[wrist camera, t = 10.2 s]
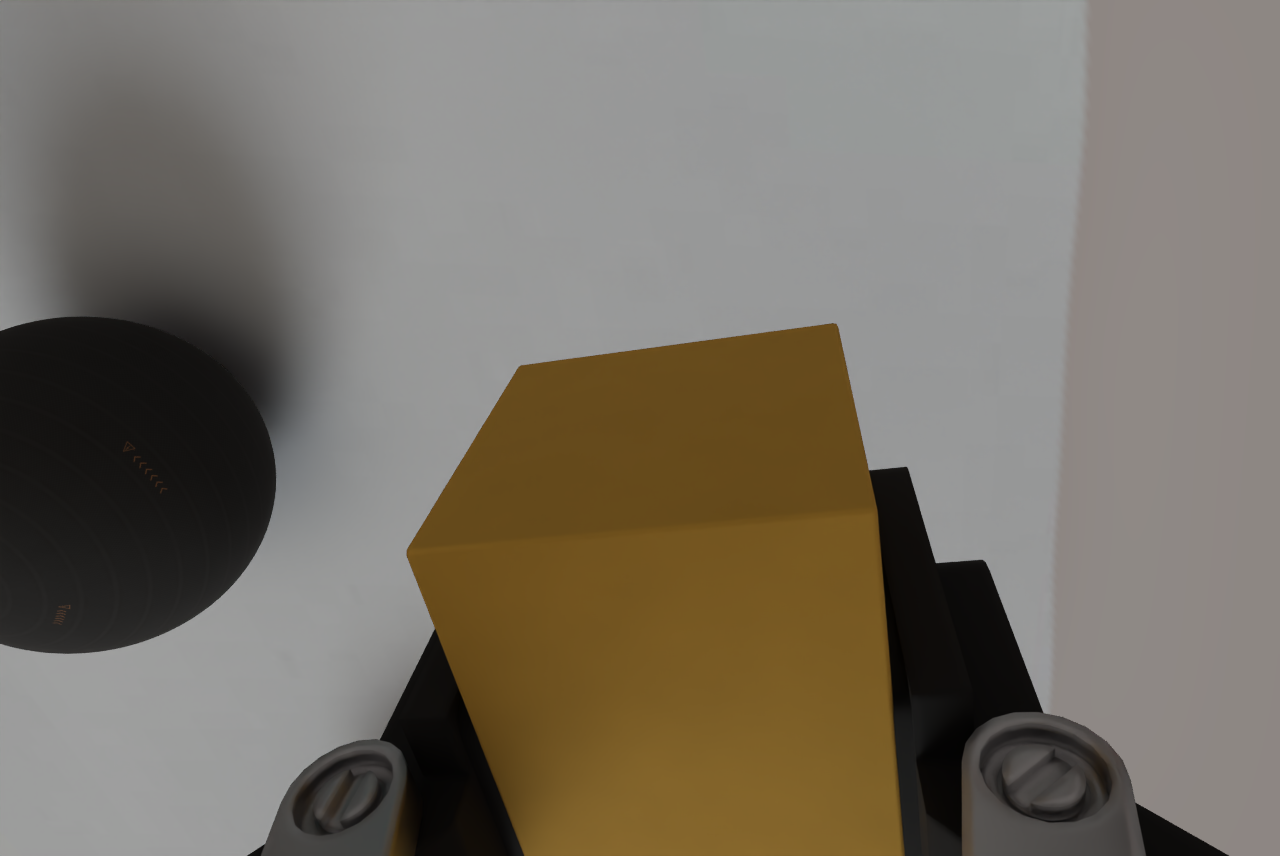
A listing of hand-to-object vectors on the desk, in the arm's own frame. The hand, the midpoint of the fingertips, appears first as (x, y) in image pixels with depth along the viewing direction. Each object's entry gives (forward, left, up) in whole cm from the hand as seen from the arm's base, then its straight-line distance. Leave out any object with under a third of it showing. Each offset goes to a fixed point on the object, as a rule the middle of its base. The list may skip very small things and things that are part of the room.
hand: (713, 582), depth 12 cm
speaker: (+20, -4, -15) cm, 25 cm away
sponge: (0, 0, 0) cm, 0 cm away
